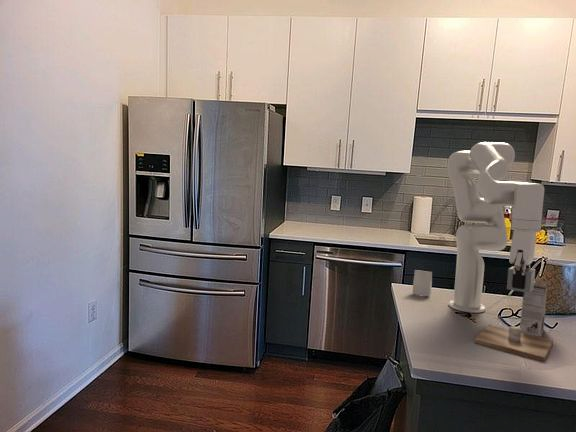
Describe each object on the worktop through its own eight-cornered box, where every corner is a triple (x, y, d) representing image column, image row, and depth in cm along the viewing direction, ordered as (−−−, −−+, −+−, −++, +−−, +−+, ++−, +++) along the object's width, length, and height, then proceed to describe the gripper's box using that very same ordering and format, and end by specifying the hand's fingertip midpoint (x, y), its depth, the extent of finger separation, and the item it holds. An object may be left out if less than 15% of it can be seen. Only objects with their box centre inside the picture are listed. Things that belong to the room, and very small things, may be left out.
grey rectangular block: (429, 297, 172) (431, 273, 171) (412, 294, 175) (414, 270, 174) (430, 295, 175) (432, 271, 174) (414, 292, 178) (415, 269, 177)
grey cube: (511, 285, 130) (512, 266, 129) (533, 289, 126) (535, 269, 125) (506, 289, 125) (508, 268, 124) (529, 293, 121) (531, 272, 121)
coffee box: (522, 324, 145) (526, 277, 143) (544, 328, 141) (549, 281, 139) (518, 332, 137) (523, 283, 135) (541, 337, 134) (546, 287, 132)
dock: (488, 328, 140) (490, 314, 139) (552, 344, 128) (554, 329, 128) (474, 342, 127) (476, 327, 127) (544, 361, 116) (545, 345, 116)
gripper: (517, 222, 133) (512, 279, 134) (504, 226, 119) (499, 289, 121) (545, 224, 128) (540, 283, 130) (535, 229, 115) (529, 294, 116)
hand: (520, 285), depth 125 cm, fingers closed on grey cube, 6 cm apart
